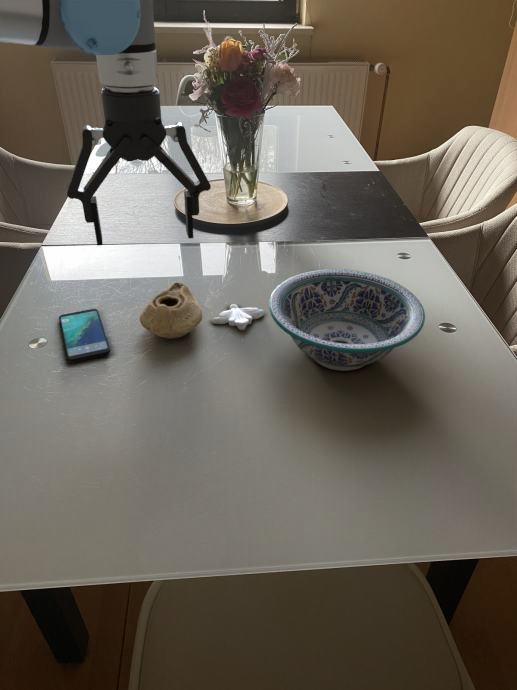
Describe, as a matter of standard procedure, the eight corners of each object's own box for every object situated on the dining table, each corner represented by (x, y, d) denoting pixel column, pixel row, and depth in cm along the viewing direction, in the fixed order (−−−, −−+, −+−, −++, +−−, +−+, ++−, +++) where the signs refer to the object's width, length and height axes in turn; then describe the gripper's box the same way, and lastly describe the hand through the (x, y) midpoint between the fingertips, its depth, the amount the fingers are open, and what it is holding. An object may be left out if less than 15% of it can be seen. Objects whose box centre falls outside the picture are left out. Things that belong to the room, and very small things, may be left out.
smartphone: (67, 360, 88) (58, 314, 99) (68, 364, 88) (58, 318, 100) (111, 351, 90) (97, 307, 101) (111, 355, 91) (97, 310, 102)
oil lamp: (202, 303, 105) (200, 267, 100) (203, 348, 93) (201, 309, 88) (145, 306, 104) (141, 269, 99) (139, 351, 92) (133, 312, 87)
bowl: (359, 423, 78) (368, 372, 73) (237, 353, 92) (237, 305, 86) (441, 350, 93) (453, 303, 88) (325, 299, 107) (330, 255, 101)
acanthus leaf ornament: (264, 315, 102) (264, 307, 101) (248, 333, 97) (248, 325, 96) (229, 305, 104) (229, 297, 103) (212, 323, 99) (211, 314, 98)
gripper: (25, 94, 64) (59, 255, 77) (229, 90, 70) (230, 241, 82) (31, 83, 70) (61, 234, 83) (218, 80, 76) (221, 223, 88)
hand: (145, 238), depth 82 cm, fingers open, 13 cm apart
